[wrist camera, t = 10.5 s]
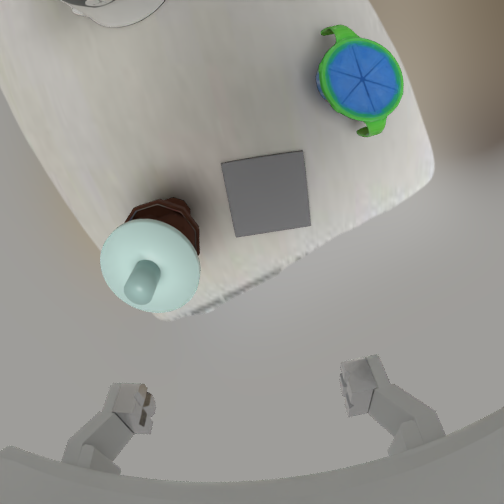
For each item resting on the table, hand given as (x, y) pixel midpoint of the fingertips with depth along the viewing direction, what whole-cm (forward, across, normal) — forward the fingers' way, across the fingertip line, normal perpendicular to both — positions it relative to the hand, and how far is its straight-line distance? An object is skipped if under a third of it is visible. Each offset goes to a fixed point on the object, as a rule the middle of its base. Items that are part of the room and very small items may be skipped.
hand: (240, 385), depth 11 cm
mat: (+37, -3, +5) cm, 38 cm away
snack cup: (+37, -16, -11) cm, 42 cm away
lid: (+22, +12, +6) cm, 26 cm away
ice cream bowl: (+37, +12, +6) cm, 40 cm away
